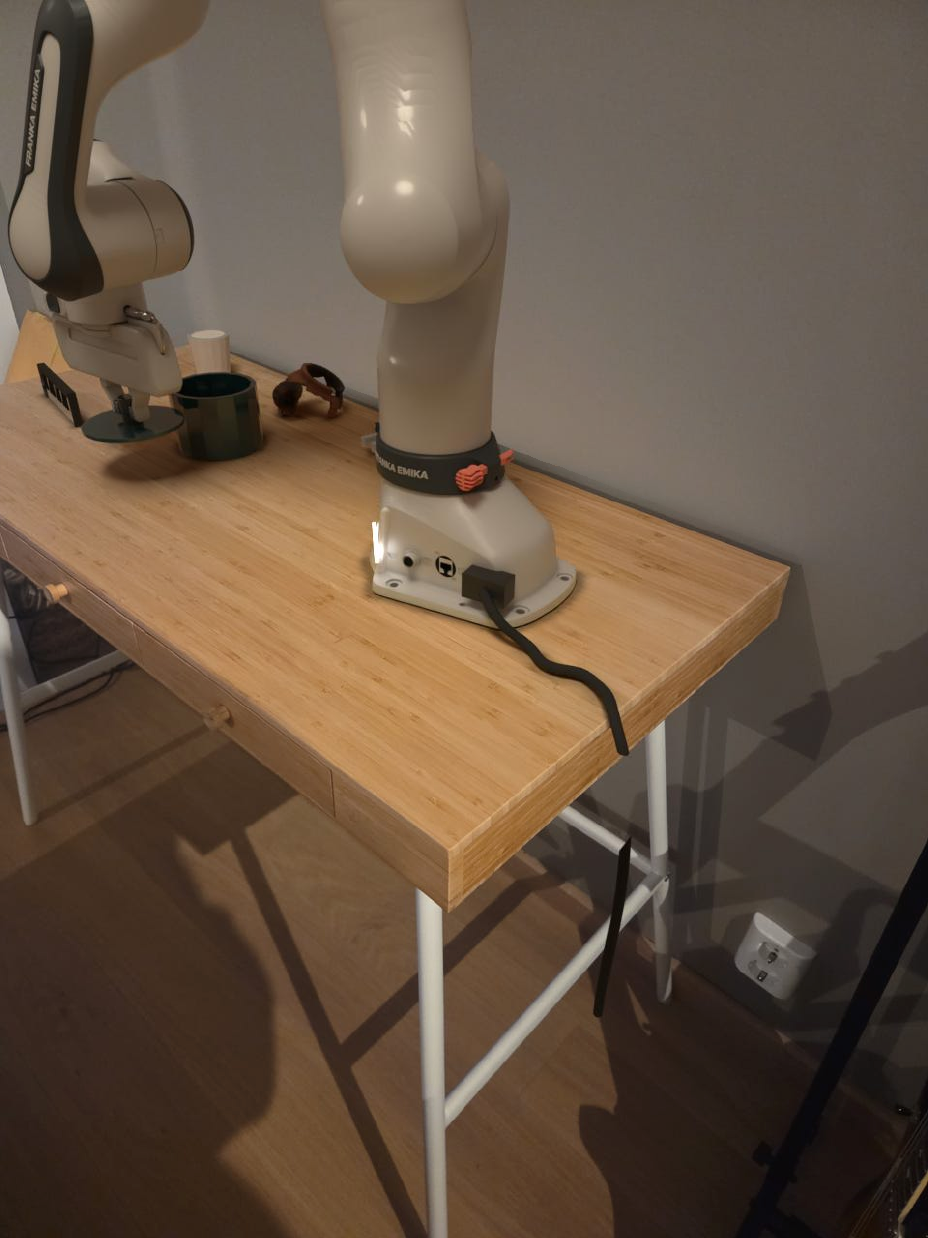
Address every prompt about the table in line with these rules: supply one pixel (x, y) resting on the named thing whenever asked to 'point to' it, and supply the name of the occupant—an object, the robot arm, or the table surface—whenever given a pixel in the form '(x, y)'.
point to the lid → (131, 424)
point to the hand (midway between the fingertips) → (132, 416)
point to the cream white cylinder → (210, 350)
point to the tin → (218, 416)
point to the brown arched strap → (308, 389)
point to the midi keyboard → (60, 394)
